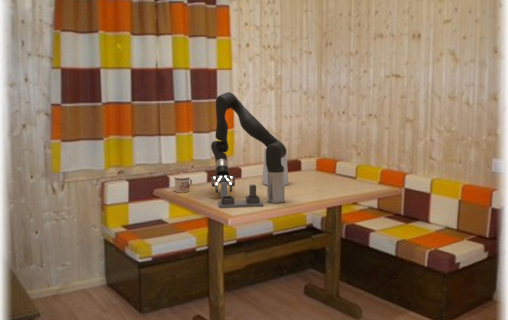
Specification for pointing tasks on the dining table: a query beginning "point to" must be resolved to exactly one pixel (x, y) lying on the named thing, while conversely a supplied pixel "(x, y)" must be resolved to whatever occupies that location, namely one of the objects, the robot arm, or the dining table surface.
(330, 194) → the dining table surface
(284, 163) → the plastic bottle
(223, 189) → the plug
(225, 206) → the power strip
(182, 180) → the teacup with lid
